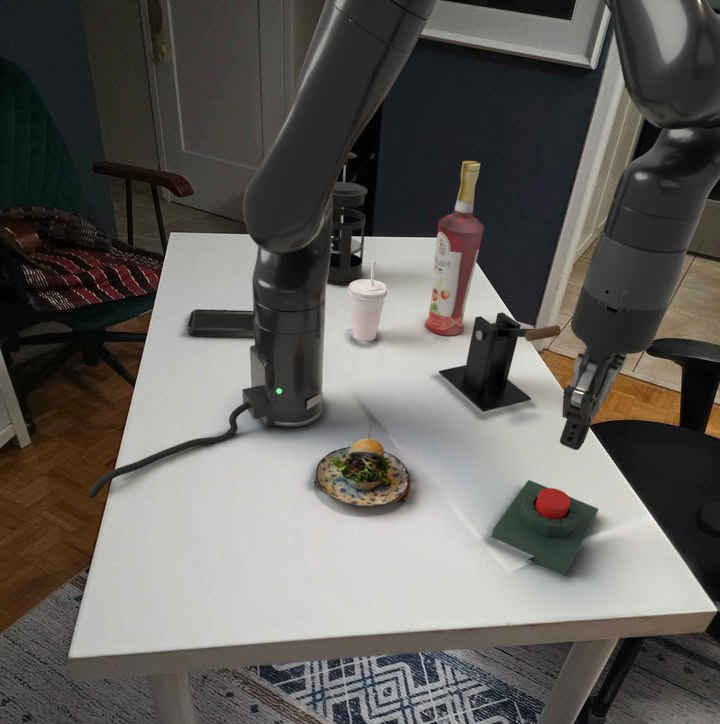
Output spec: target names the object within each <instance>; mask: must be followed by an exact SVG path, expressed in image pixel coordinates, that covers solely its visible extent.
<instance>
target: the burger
mask: <svg viewBox="0 0 720 724" xmlns="http://www.w3.org/2000/svg"><path fill="white" fill-rule="evenodd" d="M371 429H372V425H370V427H369V432H368V438H363V439H360V440H358V441H356V442H354V443H353V444H352V445H351V446H346V447H341V448H338V449H336V450H333V451H330V452H329V453H327V454H326V455H324V457H322V459H320V461H319V462H318V464H317V466H316V469H315V474H314V482H313V483H314V486H316V485H317V487H318V489H319V490H320V491H321V493H325V495H326V494H327V495H328V496H329V497H330V498H332V499H334V500H336V501H339V502H342V503H344V504H349V505H350V504H351V505H354V506H359V507H373V506H379V505H388V504H389V503H393V502H394V503H396V502H398V501H400V500H401V499H403V500H404V501H406V500H407V499H408V497H409V494H410V490H411V489H410V488H411V483H412V480H411V479H412V478H411V476H410V472H409V471H408V468H407V467H406V466H405V464H404V462H402V461H401V460H400V459H399V457H397V456H395V455H393V454H392V453H389V452H387V451H385V449H384V446H383V445H382V444H381V443H380V442H379V441H378V440H376V439H373V438H370V437H371Z"/></svg>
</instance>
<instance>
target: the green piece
mask: <svg viewBox="0 0 720 724" xmlns="http://www.w3.org/2000/svg"><path fill="white" fill-rule="evenodd" d="M546 488H548V486H545V485H542V484H540V483H538V482H535V481H533V480H531V479H528V480H527V481H526V482H525V484H524V486H523V487H522V488H521V489H520V491H519V492H518V494H517V495H516V497H515V498H514V500H513V501H512V502H511V503H510V505H509V506H508V508H507V509H506V511H504V513H503V515H502V516H501V517H500V519H499V520H498V522H497V523H496V525H495V526H494V527H493V529H492V533H491V538H493V539H495V540H497V541H500V542H502V543H504V544H506V545H509V546H511V547H513V548H515V549H517V550H519V551H521V552H523V553H526V554H528V555H530V556H532V557H530V558H528V559H527V561H530V562H532V563H535V564H537V565H539V566H541V567H543V568H545V569H548V570H550V571H552V572H553V573H556V574H558V575H561V576H563V577H565V576H566V574H567V573H568V570H569V568H570V566H571V565H572V563H573V561H574V559H575V557H576V556H577V553H578V551H579V550H580V548H581V546H582V544H583V542H584V541H585V537H586V535H587V533H588V532H589V529H590V528H591V526H592V524H593V523H594V520H595V519H596V517H597V514H598V511H599V508H598V507H596V506H593V505H591V504H588V503H585V502H583V501H581V500H579V499H576V498H574V497H571V496H569V498H570V506H569V508H568V511H567V514H566V516H565V517H564V518H562V519H560V520H557V519H549V518H547V517H544V516H542V515H540V514H539V513H538V512H537V511H536V508H535V504H536V501H537V498H538V495H539V492H540V491H541V490H543V489H546Z"/></svg>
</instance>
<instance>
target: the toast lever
mask: <svg viewBox="0 0 720 724" xmlns="http://www.w3.org/2000/svg"><path fill="white" fill-rule="evenodd" d="M491 324H492V325H493V326H495V327H496V328H498V329H499V330H498V335H497V339H496V342H498V341H503V340H508V337H518V338H524V339H525V341H526V342H529V343H530V342H534V341H539V340H545V339H548V338H549V339H550V338H554V337H558V336H560V334H561V332H562V330H561V327H560V325H558V324H555V325H550V326H545V327H539V328H520V329H511V328H507V323H496V322H492V323H491Z"/></svg>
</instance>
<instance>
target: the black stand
mask: <svg viewBox="0 0 720 724" xmlns="http://www.w3.org/2000/svg"><path fill="white" fill-rule="evenodd" d="M495 323H507V328H511V329H521V326H522V324H520V323H519V322H517V321H516V320H514V319H513V318H512V317H510V316H509V315H507V314H506V313H505V312H498V313H497V314H496V319H495ZM498 330H499V329H498V328H496V327H495V326H493V325H492V323H491V322H489V321H488V320H487V319H486V318H484V317H483V316H481V315H479V316H475V317H474V322H473V327H472V332H471V337H470V342H469V348H468V353H467V357H466V363H465V365H459V366H455V367H450V368H445V369H441V370H438V373H439V374H440V375H441V376H442V377H443V378H444V379H445V380H446V381H447V382H448V383H450V384H451V385H452V386H453V387H454V388H455V389H456V390H457V391H458V392H460V393H461V394H462V395H463V396H464V397H466V399H468V401H470V402H471V403H472V404H473V405H474V406H475V407H476V408H478V409H479V410H480V411H481V412H482V413H483V412H488V411H492V410H495V409H500V408H504V407H508V406H511V405H516V404H520V403H523V402H528V401H531V400H532V398H531V396H529V394H527V393H526V392H524V391H523V390H522V389H521V388H519V387H518V386H516V384H514V383H513V382H511V380H509V379H508V378H509V374H510V371H511V368H512V367H511V366H512V362H513V358H514V354H515V351H516V346H517V342H518V339H519V337H508V340H503V341H498V342H496V339H497V335H498Z"/></svg>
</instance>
